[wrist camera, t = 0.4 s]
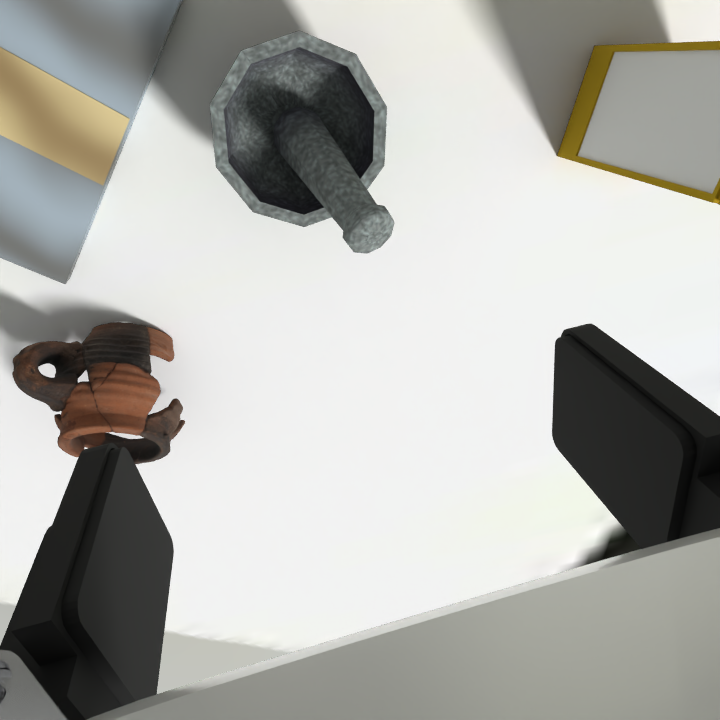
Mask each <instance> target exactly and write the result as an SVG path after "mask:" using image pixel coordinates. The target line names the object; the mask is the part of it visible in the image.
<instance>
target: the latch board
mask: <svg viewBox="0 0 720 720" xmlns="http://www.w3.org/2000/svg"><path fill="white" fill-rule="evenodd" d="M181 3H182V0H0V258H2V259H5V260H7V261H10V262H12V263H14V264H17V265H19V266H22V267H24V268H27V269H29V270H32V271H34V272H36V273H39V274H41V275H44V276H46V277H49V278H51V279H53V280H56V281H58V282H61V283H63V284H66V283H67V281H68V280H69V279H70V277H71V274H72V272H73V269H74V267H75V264H76V262H77V259H78V257H79V254H80V252H81V249H82V247H83V244H84V242H85V240H86V237H87V235H88V232H89V230H90V227H91V225H92V222H93V220H94V217H95V215H96V212H97V210H98V208H99V205H100V203H101V200H102V198H103V195H104V193H105V190H106V188H107V185H108V183H109V180H110V178H111V175H112V173H113V171H114V168H115V166H116V163H117V161H118V158H119V156H120V153H121V151H122V148H123V146H124V143H125V141H126V138H127V136H128V134H129V131H130V129H131V126H132V124H133V121H134V119H135V116H136V114H137V111H138V109H139V106H140V104H141V101H142V99H143V97H144V94H145V92H146V89H147V87H148V84H149V82H150V79H151V77H152V74H153V72H154V69H155V67H156V64H157V62H158V60H159V57H160V55H161V52H162V50H163V47H164V45H165V42H166V40H167V37H168V35H169V32H170V30H171V28H172V25H173V23H174V20H175V18H176V15H177V13H178V10H179V8H180V5H181Z"/></svg>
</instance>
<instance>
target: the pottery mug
mask: <svg viewBox="0 0 720 720" xmlns="http://www.w3.org/2000/svg"><path fill="white" fill-rule="evenodd" d="M149 354H150V355H153V356H157V357H160V358H162V359H164V360H166V361H168V362H170V361H172V360H173V359H174V351H173V340H172V338H171V337H170V336H168V335H167V334H165V333H163V332H161V331H159V330H156V329H153V328H150V327H146V326H143V325H138V324H133V323H121V322H113V323H108V324H103V325H100V326H97V327H94V328H93V330H92V332H91V333H90V335H89V336H88V337H87V338H86V339H85V341H84V342H83V343H82V344H81V343H79V342H77V341H76V342H72V343H65V342H57V341H48V342H39V343H35V344H32V345H30V346H27V347H25V348H24V349H22V350H21V351H20V353H19V354H18V355H16V356H15V357H14V358H13V364H14V371H13V378H14V380H15V383H16V384H17V386H18V387H19V388H20V389H21V390H22V391H23V392H24V393H26V394H27V395H29V396H31V397H32V398H34V399H37V400H39V401H42V402H44V403H46V404H47V405H49V407H50V408H51V409H52V410H53V411H56V412H59V411H62V413H61V415H60V414H56V415H55V422H56V424H57V427H58V428H59V429H60V435H59V437H58V446H59V447H60V448H61V449H62V450H63V451H65V452H66V453H68V454H70V455H72V456H75V457H79V455H80V453H81V452H82V451H83V450H84V447H87V448H92V447H96V446H100V445H104V444H108V443H114V444H115V445H116V446H117V447H118V448H122V447H125V448H126V449H127V450H128V451H129V453H130V455H131V457H132V459H133V461H134V463H135V464H140V463H146V462H152V461H155V460H158V459H161V458H163V457H165V456H166V455H168V453H169V452H170V441H171V439H173V438H174V437H175V436H176V435H177V433H178V432H179V431H180V430H181V428H182V427H183V425H184V424H185V421H184V420H181V421H180V414H181V412H182V410H183V407H182V405H181V403H180V401H179V400H178V399H173V400H172V401H171V403H170V405H169V407H167V408H164V409H163V410H161V411H159V412H157V413H153V414H150V415H148V413H149V412H150V411H151V409H152V407H153V405H154V404H155V402H156V400H157V398H158V397H159V395H160V393H161V391H160V385H159V382H158V381H157V380H156V379H155V378H154V377H153V376H151V375H150V373H151V363H150V356H149ZM46 363H50V364H52V365H54V366H55V368H56V374H55V377H54V378H49V377H46V376H44V375H42V374H41V373H40V372H39V370H38V366H40V365H42V364H46ZM85 370H87V372H88V379H89V381H88V382H79V383H78V378H79V377H80V376H81V375H82V373H83V372H84V371H85ZM106 432H115V433H125V434H133V435H140V436H142V437H144V438H141V439H127V438H122V437H119V436H116V435H112V434H109V433H106Z"/></svg>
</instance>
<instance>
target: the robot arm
mask: <svg viewBox="0 0 720 720" xmlns="http://www.w3.org/2000/svg"><path fill="white" fill-rule="evenodd" d="M552 436H553V440H554V443H555V445H556V447H557V449H558V450H559V451H560V452H561V454H562V455H563V456H564V457H565V458H566V460H567V461H568V462H569V463H570V464H571V465H572V467H573V468H574V469H575V470H576V471H577V473H578V474H579V475H580V476H581V477H582V479H583V480H584V481H585V482H586V483H587V485H588V486H589V487H590V488H591V489H592V490H593V492H594V493H595V494H596V495H597V496H598V498H599V499H600V500H601V501H602V502H603V504H604V505H605V506H606V507H607V508H608V510H609V511H610V512H611V513H612V514H613V516H614V517H615V518H616V519H617V520H618V521H619V523H620V524H621V525H622V526H623V527H624V529H625V530H626V531H627V532H628V533H629V535H630V536H631V537H632V538H633V539H634V541H635V542H636V543H637V544H638V545H639V547H640V548H641V549H640V550H636V551H633V552H630V553H626V554H623V555H619V556H616V557H612V558H609V559H605V560H602V561H599V562H595V563H592V564H588V565H585V566H581V567H578V568H574V569H571V570H568V571H564V572H561V573H557V574H554V575H550V576H547V577H543V578H540V579H537V580H533V581H530V582H526V583H523V584H519V585H516V586H512V587H509V588H506V589H502V590H499V591H496V592H492V593H489V594H485V595H482V596H479V597H475V598H472V599H468V600H465V601H462V602H458V603H455V604H452V605H448V606H445V607H441V608H438V609H435V610H431V611H428V612H425V613H421V614H418V615H414V616H411V617H408V618H404V619H401V620H398V621H394V622H391V623H388V624H384V625H381V626H378V627H374V628H371V629H367V630H364V631H361V632H357V633H354V634H351V635H347V636H344V637H341V638H338V639H334V640H331V641H328V642H324V643H321V644H318V645H314V646H311V647H308V648H305V649H301V650H298V651H295V652H291V653H288V654H285V655H281V656H278V657H275V658H271V659H268V660H265V661H262V662H258V663H255V664H252V665H249V666H245V667H242V668H238V669H235V670H232V671H228V672H225V673H222V674H219V675H216V676H213V677H210V678H207V679H203V680H200V681H197V682H194V683H191V684H188V685H185V686H182V687H179V688H176V689H173V690H169V691H166V692H163V693H160V694H157V686H158V677H159V669H160V660H161V653H162V644H163V636H164V628H165V620H166V611H167V603H168V595H169V587H170V578H171V570H172V562H173V552H174V551H173V542H172V539H171V536H170V534H169V532H168V530H167V528H166V526H165V524H164V522H163V520H162V518H161V516H160V514H159V512H158V510H157V508H156V506H155V504H154V502H153V500H152V497H151V495H150V493H149V491H148V489H147V487H146V485H145V483H144V481H143V479H142V477H141V475H140V473H139V471H138V469H137V467H136V465H135V463H134V461H133V459H132V457H131V455H130V453H129V451H128V450H127V449H126V448H125V447H122V448H118V447H117V446H116V445H115V444H114V443H108V444H104V445H100V446H96V447H92V448H88V449H85V450H83V451H82V452H81V453H80V455H79V458H78V460H77V463H76V466H75V468H74V471H73V473H72V476H71V478H70V481H69V484H68V486H67V489H66V491H65V494H64V496H63V499H62V501H61V504H60V507H59V509H58V512H57V514H56V517H55V519H54V522H53V524H52V526H50V527H49V528H48V530H47V531H46V533H45V535H44V538H43V540H42V543H41V545H40V548H39V550H38V553H37V555H36V558H35V560H34V563H33V565H32V568H31V570H30V573H29V575H28V578H27V580H26V583H25V585H24V588H23V590H22V593H21V595H20V598H19V600H18V603H17V605H16V608H15V611H14V613H13V615H12V618H11V620H10V623H9V625H8V628H7V631H6V633H5V635H4V638H3V640H2V643H1V645H0V720H720V416H718V415H717V414H716V413H714V412H713V411H711V410H710V409H709V408H707V407H706V406H705V405H703V404H702V403H701V402H699V401H698V400H696V399H695V398H694V397H692V396H691V395H690V394H688V393H687V392H685V391H684V390H683V389H681V388H680V387H679V386H677V385H676V384H674V383H673V382H672V381H670V380H669V379H668V378H666V377H665V376H663V375H662V374H661V373H659V372H658V371H657V370H655V369H654V368H652V367H651V366H650V365H648V364H647V363H646V362H644V361H643V360H641V359H640V358H639V357H637V356H636V355H635V354H633V353H632V352H630V351H629V350H628V349H626V348H625V347H624V346H622V345H621V344H619V343H618V342H617V341H615V340H614V339H613V338H611V337H610V336H608V335H607V334H606V333H604V332H603V331H602V330H600V329H599V328H598V327H596V326H595V325H593V324H585V325H581V326H577V327H573V328H569V329H565V330H564V331H563V333H562V335H561V337H560V338H558V339H557V340H556V342H555V362H554V393H553V423H552ZM156 694H157V695H156Z"/></svg>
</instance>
